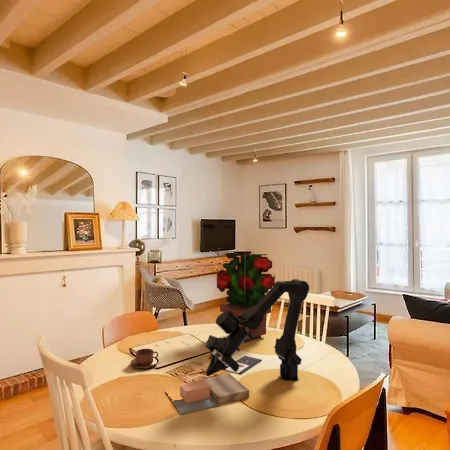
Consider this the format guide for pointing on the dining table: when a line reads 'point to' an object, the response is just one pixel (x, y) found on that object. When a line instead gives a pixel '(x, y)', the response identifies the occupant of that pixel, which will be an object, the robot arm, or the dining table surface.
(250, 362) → the chocolate bar
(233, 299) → the potted plant
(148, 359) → the cup and saucer
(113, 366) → the dining table surface
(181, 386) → the salmon pink block
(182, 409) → the slate mat
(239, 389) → the block
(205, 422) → the dining table surface
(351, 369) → the dining table surface
